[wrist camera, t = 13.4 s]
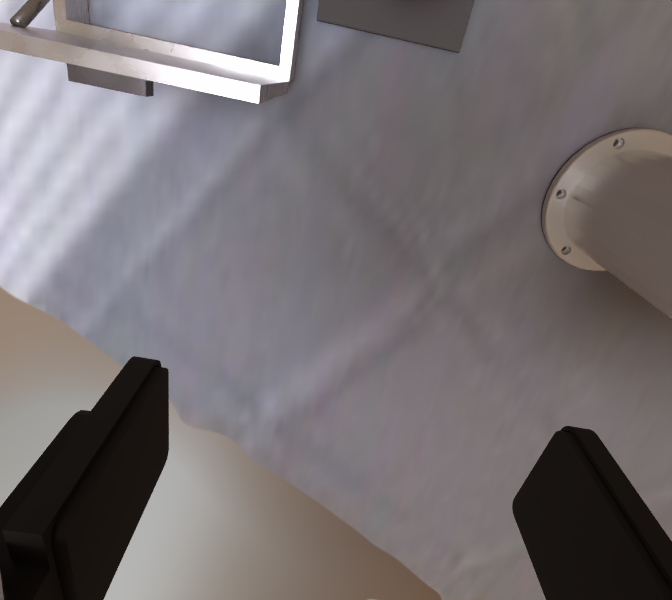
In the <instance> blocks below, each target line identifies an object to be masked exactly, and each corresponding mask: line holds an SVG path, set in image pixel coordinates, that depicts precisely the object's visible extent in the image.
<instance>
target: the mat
mask: <svg viewBox="0 0 672 600" xmlns="http://www.w3.org/2000/svg"><path fill="white" fill-rule="evenodd" d="M473 3H474V0H319V7H318V14H317V20H318V21H322V22H326V23H331V24H335V25H340V26H344V27H348V28H353V29H357V30H361V31H366V32H370V33H375V34H379V35H383V36H388V37H392V38H396V39H401V40H405V41H409V42H414V43H418V44H423V45H427V46H431V47H436V48H440V49H444V50H449V51H453V52H459V51H460V48H461V44H462V41H463V38H464V34H465V31H466V27H467V24H468V20H469V17H470V13H471V10H472V6H473Z"/></svg>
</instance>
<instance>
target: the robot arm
mask: <svg viewBox="0 0 672 600" xmlns="http://www.w3.org/2000/svg"><path fill="white" fill-rule="evenodd" d="M614 142H615V143H614ZM558 191H559V193H558V194H556V193H557V192H558ZM542 227H543V233H544V235H545V238H546V241H547V243H548V244H549V246H550V247H551V249H552V250H553V251H554V252H555V253H556V254H557V255H558V256H559V257H560V258H561V259H563V260H564V261H565V262H567V263H568V264H570V265H572V266H575V267H577V268H579V269H584V270H589V271H608V272H609V273H611V274H612V275H613V276H615V277H616V278H617V279H619V280H620V281H621V282H623V283H624V284H625V285H627V286H628V287H629V288H631V289H632V290H633V291H635V292H636V293H637V294H639V295H640V296H641V297H643V298H644V299H645V300H646V301H648V302H649V303H650V304H652V305H653V306H654V307H656V308H657V309H658V310H660V311H661V312H662V313H664V314H665V315H666V316H668V317H669V318H670V319H672V135H671V134H668V133H665V132H662V131H659V130H653V129H647V128H630V129H625V130H620V131H615V132H613V133H610V134H607V135H605V136H602V137H600V138H598V139H596V140H595V141H593V142H591V143H589V144H588V145H586V146H585V147H583V148H582V149H581V150H580V151H578V152H577V153H576V154H575V155H573V156H572V157H571V158H570V159H569V161H568V162H567V163H566V164H565V165H564V166H563V167H562V168H561V170H560V171H559V172H558V174H557V175H556V177H555V178H554V180H553V181H552V183H551V186H550V188H549V190H548V192H547V194H546V197H545V201H544V204H543V210H542ZM563 247H564V248H563ZM168 404H169V402H168V369H167V368H162V367H161V363H160V361H159V360H153V359H147V358H141V357H135V356H134V357H132V358H131V359H130V360H129V361H128V362H127V363H126V365H125V366H124V367H123V369H122V370H121V371H120V373H119V374H118V376H117V377H116V378H115V380H114V381H113V382H112V383H111V385H110V386H109V387H108V389H107V390H106V392H105V393H104V395H103V396H102V397H101V398H100V400H99V401H98V402H97V404H96V405H95V406H94V408H93V409H92V410H91V411H85V410H80V411H79V412H77V413H75V414H74V415H73V416H72V417H71V418H70V420H69V421H68V422H67V423H66V425H65V426H64V427H63V428H62V430H61V431H60V432H59V433H58V435H57V436H56V437H55V439H54V440H53V441H52V442H51V444H50V445H49V446H48V447H47V449H46V450H45V451H44V452H43V454H42V455H41V456H40V457H39V459H38V460H37V461H36V463H35V464H34V465H33V466H32V468H31V469H30V470H29V471H28V473H27V474H26V475H25V477H24V478H23V479H22V480H21V482H20V483H19V484H18V485H17V487H16V488H15V489H14V490H13V492H12V493H11V494H10V495H9V497H8V498H7V499H6V501H5V502H4V503H3V505H2V506H1V507H0V600H103V599H104V597H105V595H106V592H107V590H108V588H109V586H110V584H111V582H112V579H113V577H114V575H115V573H116V571H117V568H118V566H119V564H120V562H121V560H122V558H123V555H124V553H125V551H126V549H127V547H128V544H129V542H130V540H131V538H132V536H133V533H134V531H135V529H136V527H137V525H138V522H139V520H140V518H141V516H142V514H143V511H144V509H145V507H146V505H147V503H148V500H149V498H150V496H151V494H152V492H153V489H154V487H155V485H156V483H157V481H158V479H159V476H160V474H161V472H162V470H163V467H164V465H165V463H166V460H167V456H168V450H169V421H168V420H169V417H168V416H169V414H168V413H169V412H168V411H169V410H168V408H169V407H168V406H169V405H168ZM513 514H514V517H515V520H516V522H517V525H518V528H519V530H520V533H521V535H522V538H523V541H524V543H525V546H526V548H527V551H528V554H529V556H530V559H531V561H532V564H533V567H534V569H535V572H536V574H537V577H538V580H539V582H540V585H541V587H542V590H543V593H544V595H545V598H546V600H672V541H671V540H670V539H669V537H668V536H667V534H666V533H665V531H664V530H663V529H662V527H661V526H660V524H659V523H658V521H657V520H656V519H655V517H654V516H653V514H652V513H651V511H650V510H649V508H648V507H647V506H646V504H645V503H644V501H643V500H642V498H641V497H640V496H639V494H638V493H637V491H636V490H635V488H634V487H633V486H632V484H631V483H630V481H629V480H628V478H627V477H626V476H625V474H624V473H623V471H622V470H621V468H620V467H619V466H618V464H617V463H616V461H615V460H614V458H613V457H612V456H611V454H610V453H609V451H608V450H607V448H606V447H605V445H604V444H603V443H602V441H601V440H600V438H599V437H598V435H597V434H596V433H595V432H594V431H592V430H590V429H583V428H577V427H571V426H565V427H563V428H562V429H561V430H560V431H557V432H556V433H555V434H554V435H553V437H552V438H551V440H550V442H549V443H548V445H547V447H546V448H545V450H544V451H543V453H542V455H541V456H540V458H539V459H538V461H537V463H536V464H535V466H534V467H533V469H532V471H531V472H530V474H529V475H528V477H527V479H526V480H525V482H524V484H523V485H522V487H521V488H520V490H519V492H518V493H517V495H516V496H515V498H514V500H513Z"/></svg>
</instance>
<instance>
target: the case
mask: <svg viewBox="0 0 672 600" xmlns="http://www.w3.org/2000/svg"><path fill="white" fill-rule="evenodd" d="M49 1H50V0H28V1H27V2H26V3H25V4H24V5H23V6H22V7H21V9H20V10H19V11H18V12H17V13H16V14H15V15H14V16H13V17H12V18H11V19H10V22H11V24H7V23H0V49H2V50H7V51H12V52H16V53H21V54H26V55H31V56H35V57H40V58H45V59H50V60H54V61H59V62H64V63H67V69H68V78H69V81H73V82H78V83H83V84H88V85H92V86H97V87H102V88H107V89H112V90H116V91H121V92H126V93H131V94H136V95H140V96H145V97H147V96H153V81H154V82H159V83H163V84H168V85H173V86H178V87H182V88H187V89H192V90H197V91H201V92H206V93H211V94H215V95H220V96H225V97H230V98H234V99H239V100H244V101H249V102H253V103H258V104H259V103H262V102H264V101H267V100H270V99H273V98H275V97H278V96H281V95H284V94H286V93H288V86H289V81H293V80H294V72H295V64H296V56H297V48H298V40H299V32H300V24H301V16H302V9H303V1H304V0H287V5H286V14H285V23H284V32H283V41H282V50H281V59H280V66H278V65H273V64H269V63H264V62H260V61H255V60H251V59H246V58H241V57H237V56H232V55H228V54H223V53H219V52H214V51H210V50H205V49H200V48H196V47H191V46H187V45H182V44H178V43H173V42H168V41H164V40H159V39H155V38H150V37H146V36H141V35H136V34H132V33H127V32H123V31H118V30H114V29H109V28H104V27H100V26H95V25H91V24H90V23H89V11H88V0H53V7H54V16H55V25H56V31H55V30H48V29H41V28H34V27H27V26H28V25H29V24H30V22H31V21H32V20H33V19H34V18H35V17H36V16H37V15H38V13H39V12H40V11H41V10H42V9H43V8H44V7H45V6H46V5H47V3H48V2H49Z"/></svg>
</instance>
